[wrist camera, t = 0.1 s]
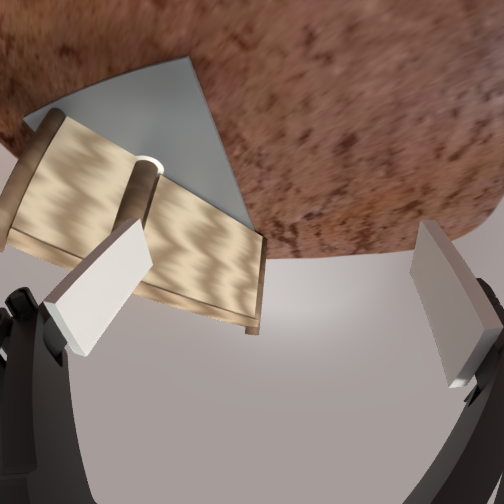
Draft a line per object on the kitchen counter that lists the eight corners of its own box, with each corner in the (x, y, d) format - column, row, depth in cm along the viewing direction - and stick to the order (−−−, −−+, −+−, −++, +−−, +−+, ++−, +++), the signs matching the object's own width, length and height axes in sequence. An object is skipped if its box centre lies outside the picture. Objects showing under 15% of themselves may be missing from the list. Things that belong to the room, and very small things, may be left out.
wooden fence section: (45, 118, 23) (-21, 255, 17) (52, 102, 22) (-23, 249, 15) (149, 177, 34) (115, 307, 28) (163, 168, 32) (126, 307, 26)
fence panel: (153, 179, 34) (121, 299, 28) (161, 173, 33) (129, 298, 27) (260, 242, 48) (251, 335, 42) (270, 240, 47) (261, 335, 41)
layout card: (24, 116, 23) (22, 119, 23) (188, 55, 19) (186, 58, 18) (147, 241, 55) (146, 243, 54) (259, 242, 50) (258, 245, 50)
